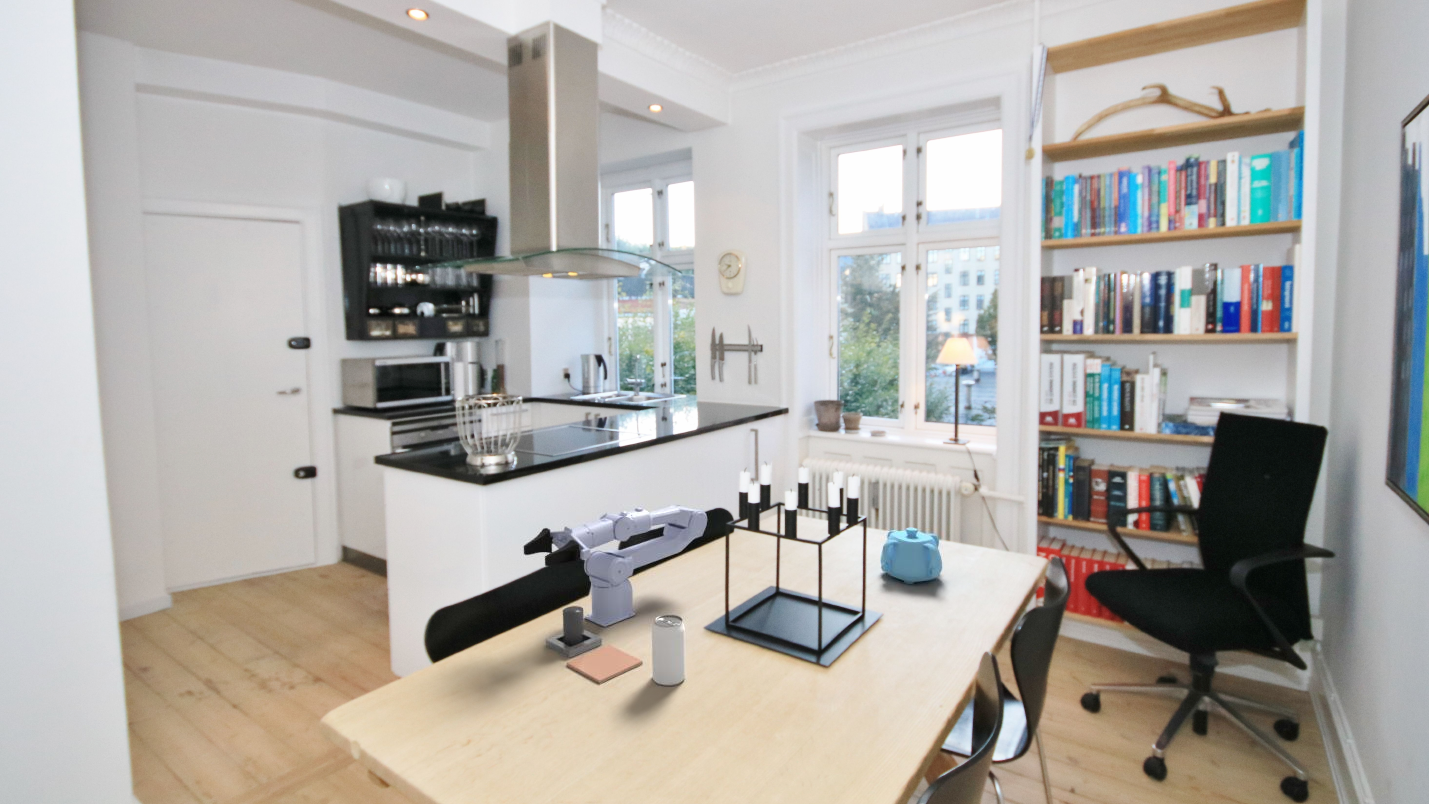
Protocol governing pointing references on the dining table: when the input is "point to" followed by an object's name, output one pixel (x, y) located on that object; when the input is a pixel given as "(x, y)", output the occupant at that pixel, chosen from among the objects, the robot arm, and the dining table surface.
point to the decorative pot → (911, 556)
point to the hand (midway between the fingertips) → (535, 555)
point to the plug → (573, 625)
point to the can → (668, 650)
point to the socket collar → (559, 646)
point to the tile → (604, 663)
